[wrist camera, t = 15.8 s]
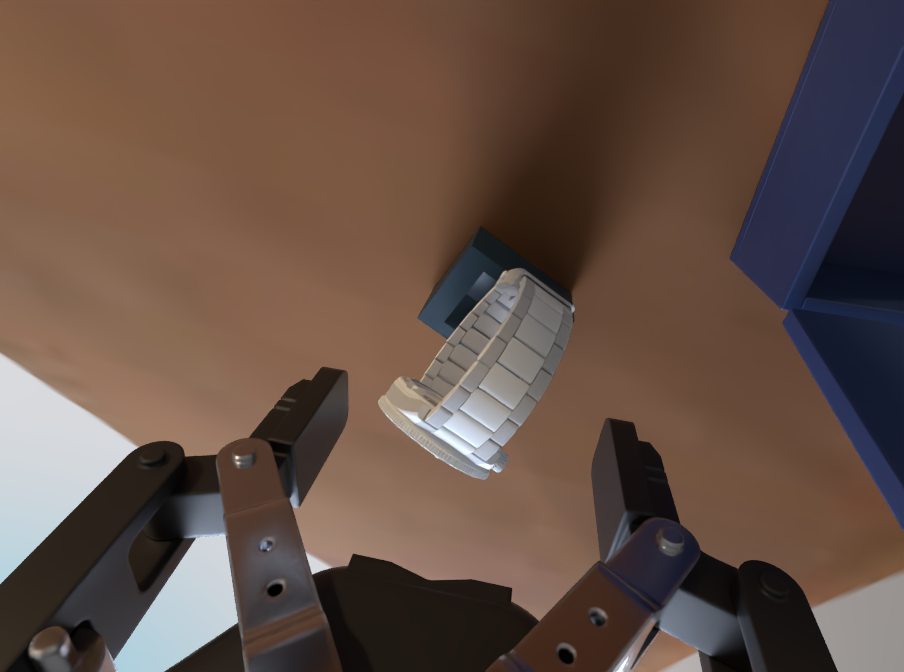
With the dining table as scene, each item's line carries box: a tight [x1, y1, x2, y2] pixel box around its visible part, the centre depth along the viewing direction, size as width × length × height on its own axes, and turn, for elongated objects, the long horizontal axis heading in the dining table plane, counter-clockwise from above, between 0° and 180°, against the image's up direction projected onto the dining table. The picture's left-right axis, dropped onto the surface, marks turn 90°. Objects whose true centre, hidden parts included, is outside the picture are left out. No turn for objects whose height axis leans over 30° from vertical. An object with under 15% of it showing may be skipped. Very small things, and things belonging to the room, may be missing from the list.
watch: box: [378, 226, 575, 479], centre depth 20 cm, size 6×8×11 cm
